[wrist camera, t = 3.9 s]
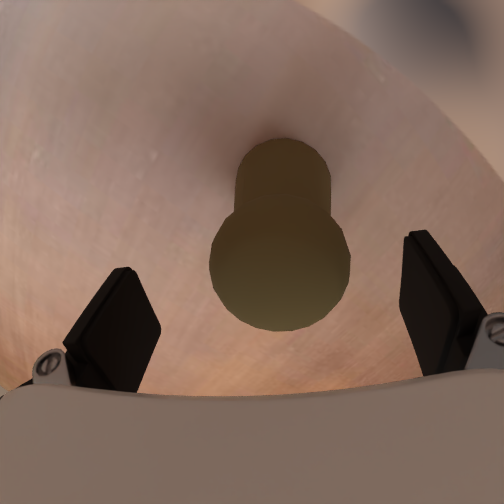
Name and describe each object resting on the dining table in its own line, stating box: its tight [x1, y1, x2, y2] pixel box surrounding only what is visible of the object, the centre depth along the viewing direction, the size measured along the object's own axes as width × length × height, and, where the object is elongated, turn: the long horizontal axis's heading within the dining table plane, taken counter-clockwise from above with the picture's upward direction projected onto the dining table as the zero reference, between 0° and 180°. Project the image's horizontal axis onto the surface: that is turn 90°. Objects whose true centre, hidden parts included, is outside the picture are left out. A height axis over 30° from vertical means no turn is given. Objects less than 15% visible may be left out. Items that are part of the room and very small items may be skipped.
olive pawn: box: [209, 138, 351, 331], centre depth 15 cm, size 6×6×11 cm
